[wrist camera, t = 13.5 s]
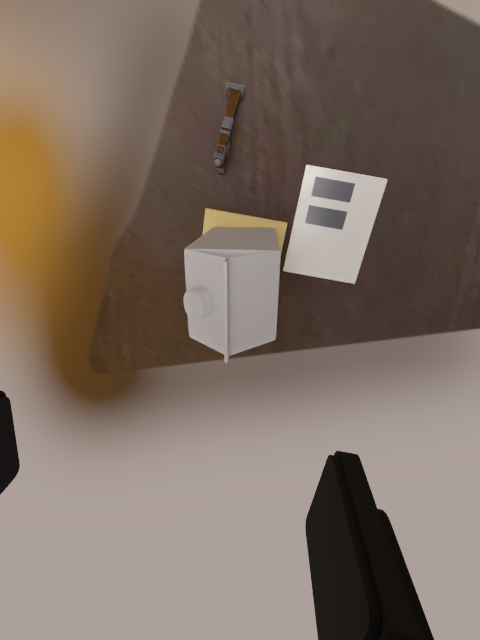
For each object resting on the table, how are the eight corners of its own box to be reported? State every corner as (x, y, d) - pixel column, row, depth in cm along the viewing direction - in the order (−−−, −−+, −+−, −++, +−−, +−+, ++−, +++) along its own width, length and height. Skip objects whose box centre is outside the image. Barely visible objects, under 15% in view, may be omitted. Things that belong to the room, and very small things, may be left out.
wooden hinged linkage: (210, 180, 36) (207, 159, 31) (227, 111, 36) (226, 80, 31) (226, 184, 36) (225, 163, 31) (243, 114, 36) (244, 84, 31)
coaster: (287, 222, 37) (287, 223, 37) (270, 298, 41) (271, 300, 40) (207, 207, 38) (205, 208, 37) (197, 285, 41) (196, 287, 40)
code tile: (386, 179, 35) (387, 179, 35) (354, 283, 40) (354, 283, 40) (306, 164, 35) (306, 164, 35) (282, 270, 40) (282, 271, 40)
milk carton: (275, 227, 37) (284, 262, 19) (272, 286, 40) (277, 365, 22) (213, 226, 37) (167, 260, 20) (214, 285, 40) (175, 361, 22)
